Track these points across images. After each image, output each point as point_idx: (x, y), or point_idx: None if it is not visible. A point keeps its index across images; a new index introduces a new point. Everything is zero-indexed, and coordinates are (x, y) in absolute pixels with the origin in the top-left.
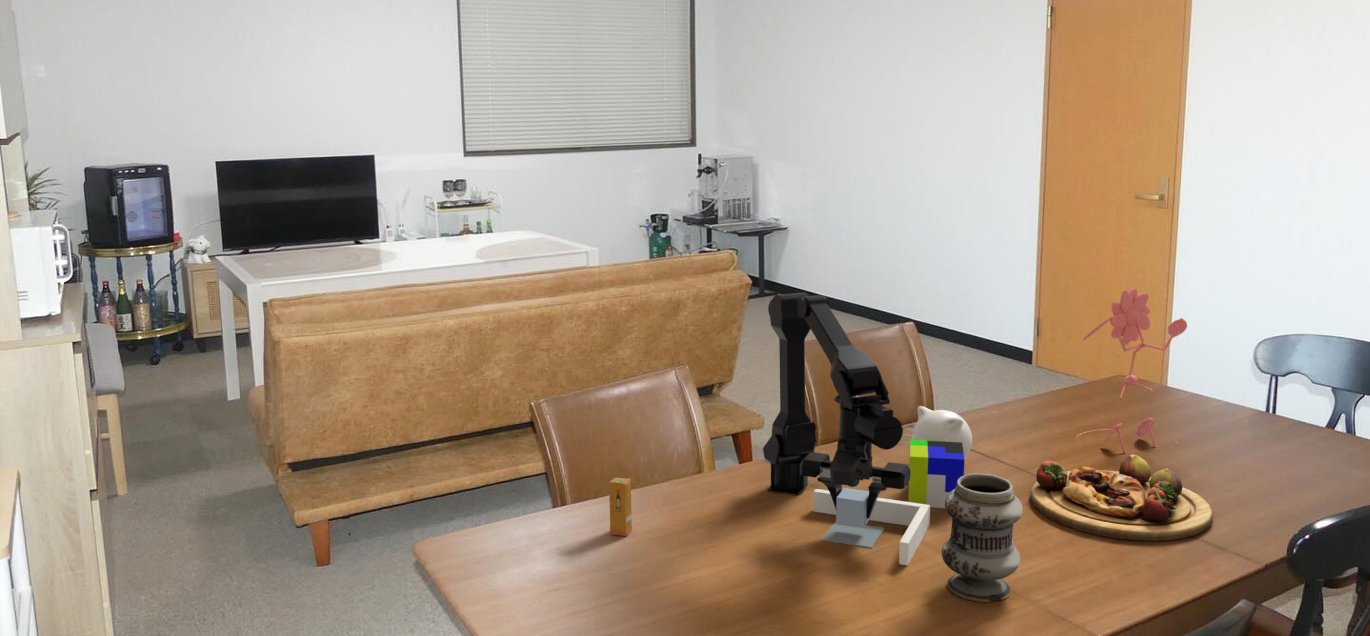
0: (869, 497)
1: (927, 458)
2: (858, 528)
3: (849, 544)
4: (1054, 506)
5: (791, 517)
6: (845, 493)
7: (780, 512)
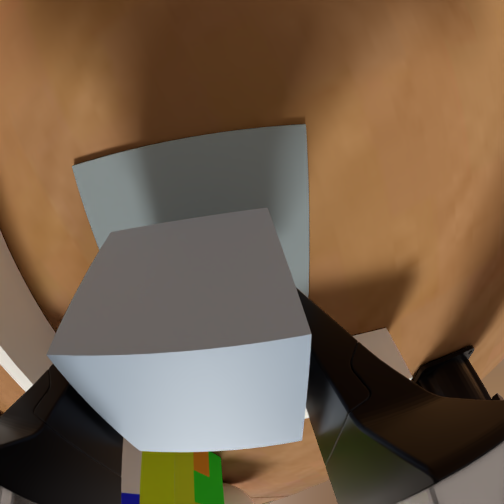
0: (51, 401)
1: None
2: None
3: (167, 141)
4: None
5: (440, 264)
6: (263, 410)
7: (463, 277)
